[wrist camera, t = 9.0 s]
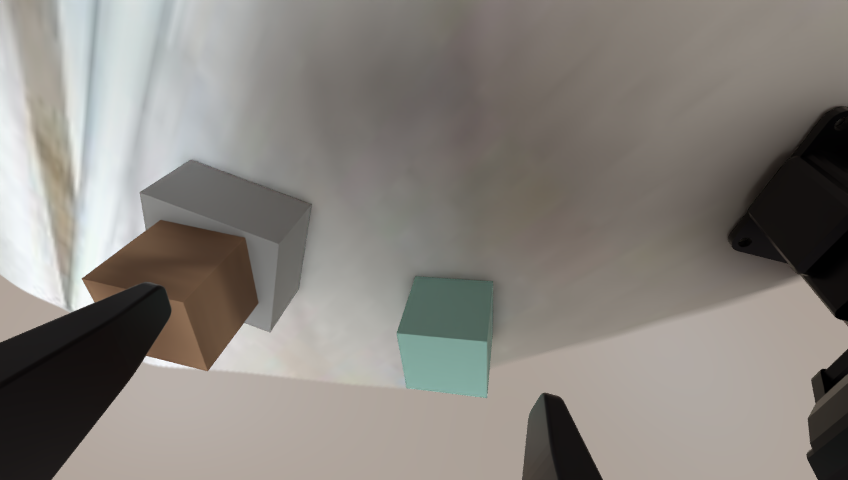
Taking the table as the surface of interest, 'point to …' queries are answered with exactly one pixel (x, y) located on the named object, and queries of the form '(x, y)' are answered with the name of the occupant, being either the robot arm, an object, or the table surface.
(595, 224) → the table surface
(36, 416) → the robot arm
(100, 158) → the table surface
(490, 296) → the teal cube
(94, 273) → the walnut cube
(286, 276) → the slate block
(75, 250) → the table surface
